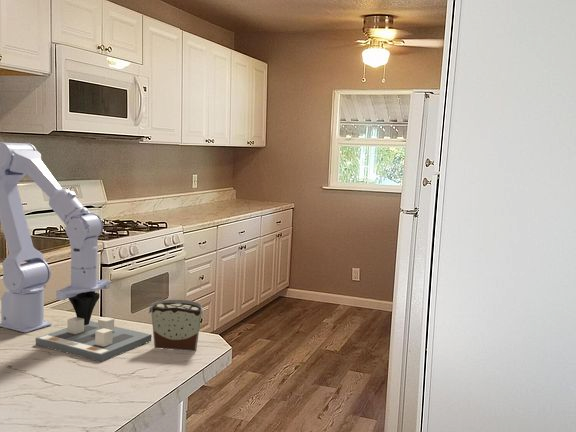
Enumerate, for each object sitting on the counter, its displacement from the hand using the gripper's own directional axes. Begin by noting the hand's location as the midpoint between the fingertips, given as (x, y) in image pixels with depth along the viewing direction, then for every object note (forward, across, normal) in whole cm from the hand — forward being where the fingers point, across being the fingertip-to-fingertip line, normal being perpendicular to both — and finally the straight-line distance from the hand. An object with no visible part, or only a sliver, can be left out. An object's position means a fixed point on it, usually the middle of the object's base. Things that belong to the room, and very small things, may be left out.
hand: (83, 324), depth 137 cm
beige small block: (+1, -2, 0) cm, 3 cm away
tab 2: (+1, +1, -6) cm, 6 cm away
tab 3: (+1, -5, -11) cm, 12 cm away
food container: (+3, +7, -22) cm, 23 cm away
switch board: (+3, -2, -6) cm, 7 cm away
